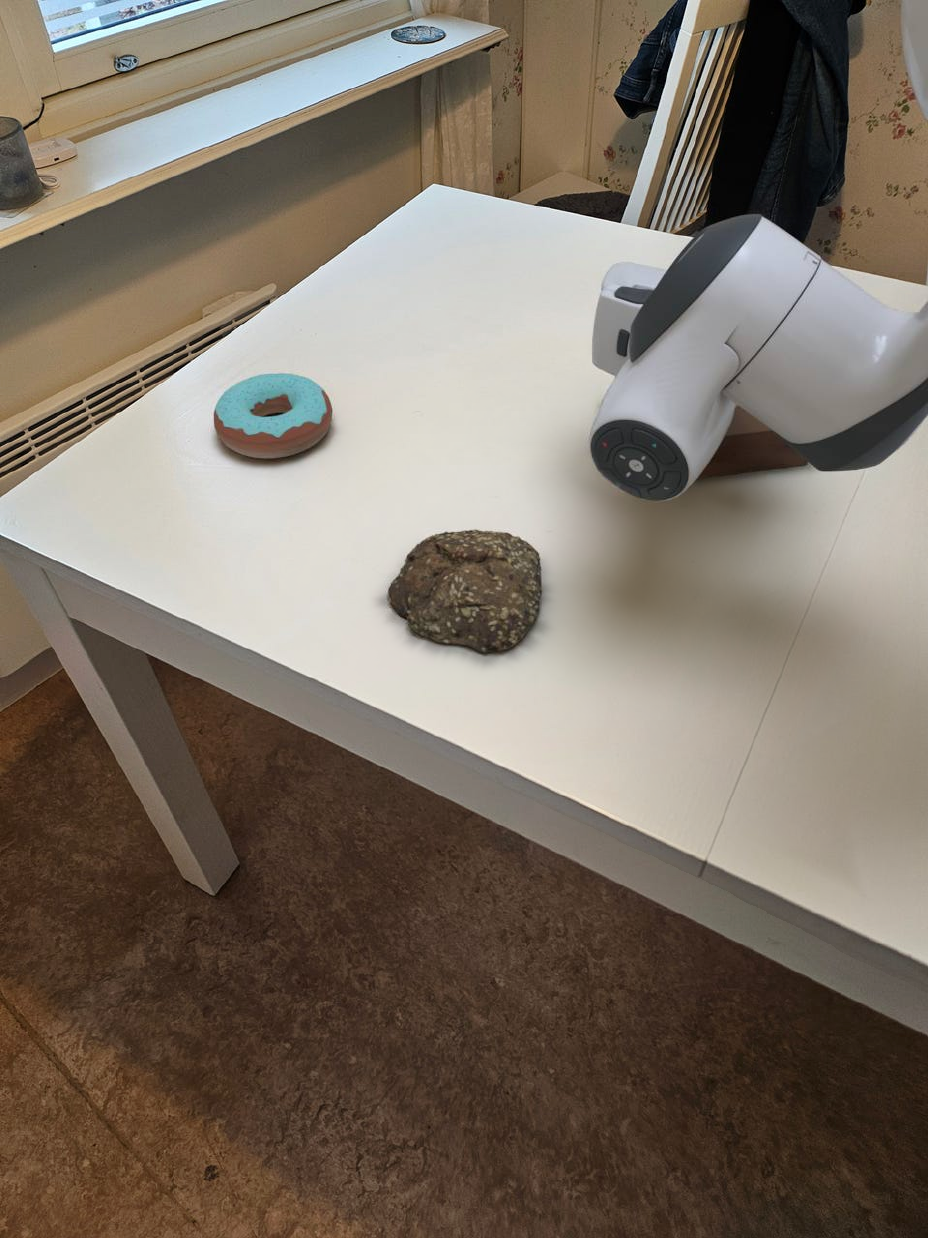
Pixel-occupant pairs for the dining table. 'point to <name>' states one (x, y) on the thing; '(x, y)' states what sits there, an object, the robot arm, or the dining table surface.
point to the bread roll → (470, 589)
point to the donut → (275, 434)
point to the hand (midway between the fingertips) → (741, 277)
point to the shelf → (750, 448)
